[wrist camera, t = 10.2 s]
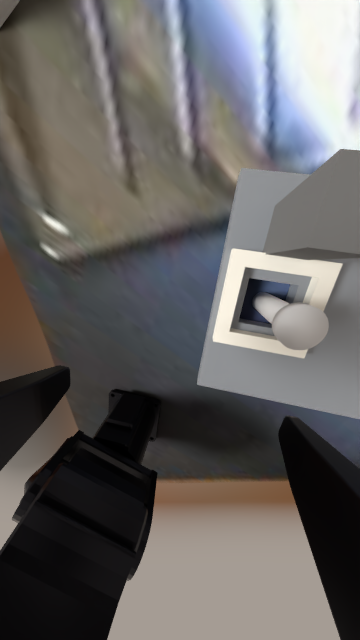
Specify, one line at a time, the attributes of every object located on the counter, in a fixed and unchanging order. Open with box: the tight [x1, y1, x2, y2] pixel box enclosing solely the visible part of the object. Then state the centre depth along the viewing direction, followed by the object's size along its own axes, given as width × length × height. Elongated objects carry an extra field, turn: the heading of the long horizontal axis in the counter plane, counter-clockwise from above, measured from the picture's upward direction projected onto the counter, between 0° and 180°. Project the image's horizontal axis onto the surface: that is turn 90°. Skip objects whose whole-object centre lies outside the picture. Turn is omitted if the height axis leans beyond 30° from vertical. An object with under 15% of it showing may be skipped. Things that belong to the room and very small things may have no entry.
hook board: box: [197, 168, 360, 419], centre depth 13 cm, size 19×17×8 cm
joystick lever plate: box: [213, 149, 360, 358], centre depth 12 cm, size 11×8×7 cm
